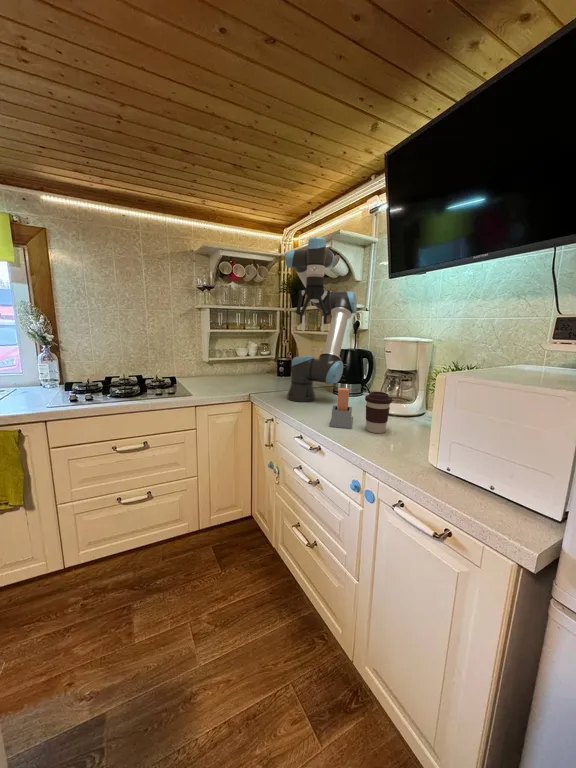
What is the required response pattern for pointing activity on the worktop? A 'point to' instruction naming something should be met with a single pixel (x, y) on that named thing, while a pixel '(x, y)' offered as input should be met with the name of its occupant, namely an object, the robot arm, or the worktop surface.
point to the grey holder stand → (341, 418)
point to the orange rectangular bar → (342, 399)
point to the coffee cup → (377, 411)
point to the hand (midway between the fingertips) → (312, 331)
